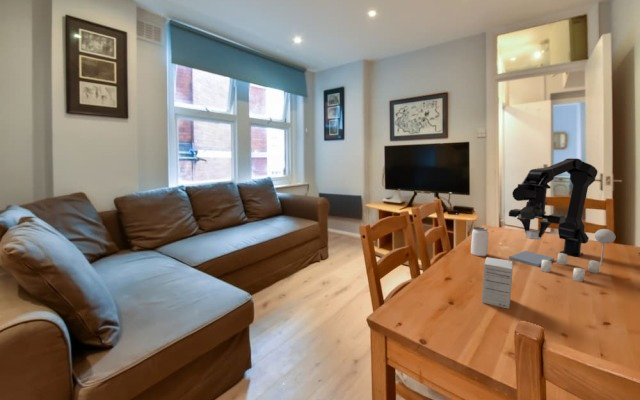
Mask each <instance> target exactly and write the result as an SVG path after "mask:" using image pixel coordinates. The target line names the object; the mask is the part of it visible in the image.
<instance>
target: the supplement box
mask: <svg viewBox="0 0 640 400" xmlns="http://www.w3.org/2000/svg"><path fill="white" fill-rule="evenodd" d="M513 264H514V262H513V260H508V259H501V258H494V257H488V256H487V257H486V258H485V261H484V265H483V266H484V267H483V279H482V280H483V281H482V296H481V302H482V303H483V304H486V305H487V304H488V305H491V306H495V307H500V308H505V309H510V305H511V298H512V297H511V295H512V284H513V268H514V267H513V266H514V265H513Z"/></svg>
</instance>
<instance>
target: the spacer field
mask: <svg viewBox="0 0 640 400" xmlns="http://www.w3.org/2000/svg"><path fill="white" fill-rule="evenodd" d="M568 256H569V255H568V254H563V253H560V252H559V253H557V260H556V263H557V265H562V266H566V265H567V261H568ZM600 262H601V261H598V260H593V259H590V260H588V267H587V268H588V270H587V271H588V272H590V273H593V274H599V273H600V268H601V267H600V266H601V265H600ZM551 269H552V261H550V260H542V263H541V266H540V271H541V272H544V273H550V272H551ZM585 271H586V270H585V269H584V268H580V267H574V268H573V272H572V280H573V281H576V282H581V283H582V282H584V280H585V273H586V272H585Z"/></svg>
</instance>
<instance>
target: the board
mask: <svg viewBox="0 0 640 400" xmlns="http://www.w3.org/2000/svg"><path fill="white" fill-rule="evenodd" d="M508 259H509V260H510V261H515V262H519V263H523V264H526V265H529V266H533V267H541V263H542V260H550V261H551V262H552V261H553V262H554V260H555V258H554V257H553V256H552V257H551V256H549V255H543V254H539V253H535V252H531V251H527V250H524V251H522V252H519V253H516V254H513V255H511V256H508Z"/></svg>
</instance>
